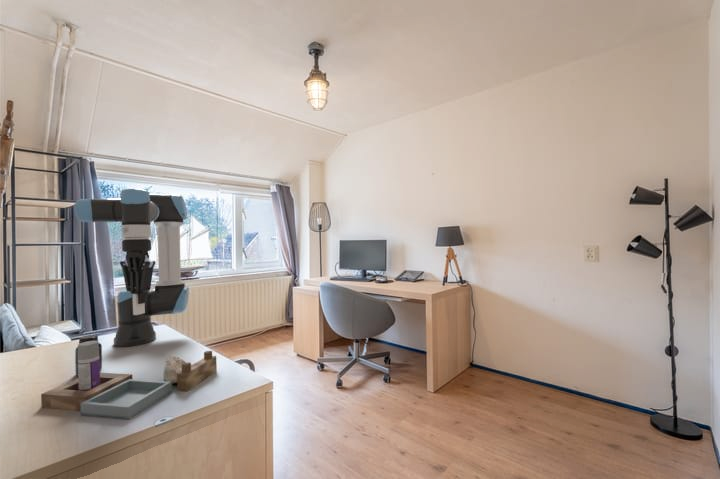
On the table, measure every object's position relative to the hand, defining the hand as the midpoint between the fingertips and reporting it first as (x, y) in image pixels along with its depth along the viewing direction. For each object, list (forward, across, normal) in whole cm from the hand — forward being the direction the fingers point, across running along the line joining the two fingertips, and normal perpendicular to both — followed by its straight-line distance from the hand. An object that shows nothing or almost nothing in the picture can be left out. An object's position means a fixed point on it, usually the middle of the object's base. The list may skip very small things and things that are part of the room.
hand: (139, 313), depth 102 cm
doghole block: (+21, -3, -12) cm, 24 cm away
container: (+21, -3, -12) cm, 24 cm away
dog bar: (+21, +18, +5) cm, 28 cm away
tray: (+21, +12, -12) cm, 26 cm away
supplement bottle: (+21, -23, -2) cm, 31 cm away
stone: (+21, +12, +4) cm, 24 cm away
